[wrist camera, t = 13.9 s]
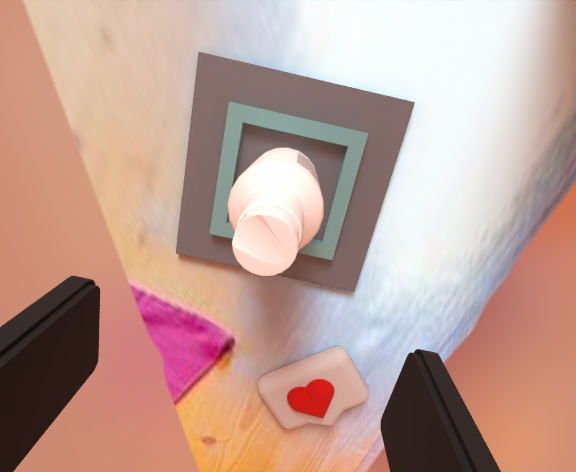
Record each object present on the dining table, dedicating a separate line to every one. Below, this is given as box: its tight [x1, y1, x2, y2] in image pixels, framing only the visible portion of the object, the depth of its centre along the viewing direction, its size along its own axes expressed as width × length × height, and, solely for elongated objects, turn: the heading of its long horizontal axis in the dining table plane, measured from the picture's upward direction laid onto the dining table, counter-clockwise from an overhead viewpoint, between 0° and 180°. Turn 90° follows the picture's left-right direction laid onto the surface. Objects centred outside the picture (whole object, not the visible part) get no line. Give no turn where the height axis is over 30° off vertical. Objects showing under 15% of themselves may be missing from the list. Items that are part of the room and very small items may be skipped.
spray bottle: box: [228, 148, 324, 276], centre depth 26 cm, size 7×7×18 cm
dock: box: [176, 52, 415, 291], centre depth 35 cm, size 20×20×2 cm
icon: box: [257, 346, 369, 430], centre depth 43 cm, size 12×4×10 cm
